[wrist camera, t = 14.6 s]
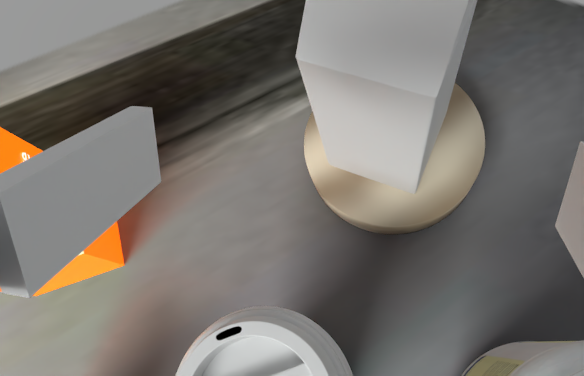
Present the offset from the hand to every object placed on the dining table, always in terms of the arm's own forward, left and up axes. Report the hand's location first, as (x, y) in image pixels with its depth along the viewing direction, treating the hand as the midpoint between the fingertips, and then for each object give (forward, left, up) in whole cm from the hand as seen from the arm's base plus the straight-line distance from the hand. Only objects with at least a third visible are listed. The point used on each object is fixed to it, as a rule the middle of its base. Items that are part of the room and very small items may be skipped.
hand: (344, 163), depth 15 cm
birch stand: (-6, +8, -24) cm, 26 cm away
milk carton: (-7, +8, -21) cm, 23 cm away
